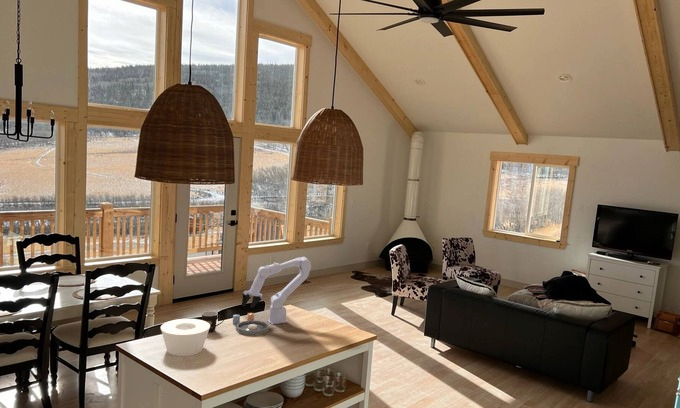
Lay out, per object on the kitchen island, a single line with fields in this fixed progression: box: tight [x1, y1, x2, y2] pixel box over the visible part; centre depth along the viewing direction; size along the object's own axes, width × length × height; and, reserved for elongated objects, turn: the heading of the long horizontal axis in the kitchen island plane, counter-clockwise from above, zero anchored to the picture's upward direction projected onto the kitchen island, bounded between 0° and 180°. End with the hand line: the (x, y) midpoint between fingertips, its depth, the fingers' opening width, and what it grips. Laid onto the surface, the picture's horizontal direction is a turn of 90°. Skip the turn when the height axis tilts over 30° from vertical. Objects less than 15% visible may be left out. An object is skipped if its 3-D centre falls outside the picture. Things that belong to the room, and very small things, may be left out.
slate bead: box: [232, 314, 241, 326], centre depth 303 cm, size 4×4×5 cm
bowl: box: [160, 318, 210, 357], centre depth 261 cm, size 24×24×12 cm
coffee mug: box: [201, 310, 225, 334], centre depth 288 cm, size 12×9×10 cm
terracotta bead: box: [246, 312, 255, 321], centre depth 308 cm, size 4×4×5 cm
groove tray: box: [235, 319, 270, 337], centre depth 295 cm, size 18×18×2 cm
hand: (247, 306), depth 305 cm, fingers open, 7 cm apart
